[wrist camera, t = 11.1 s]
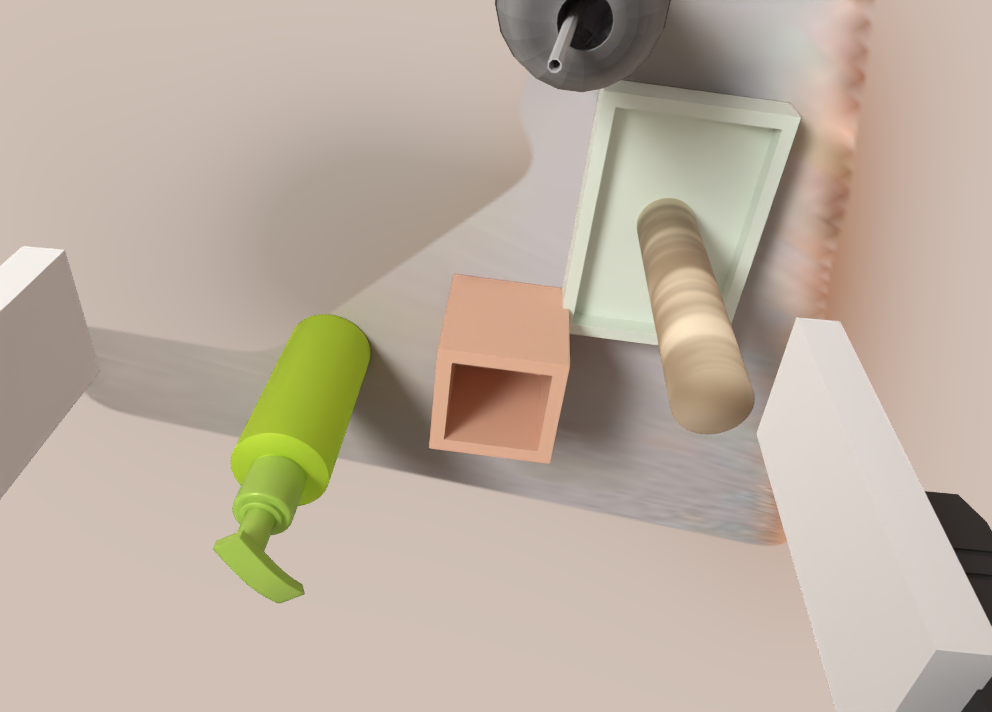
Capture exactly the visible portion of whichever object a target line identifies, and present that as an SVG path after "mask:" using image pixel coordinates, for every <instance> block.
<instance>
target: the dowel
mask: <svg viewBox="0 0 992 712" xmlns="http://www.w3.org/2000/svg"><path fill="white" fill-rule="evenodd" d="M637 234H638V239H639V245H640V250H641V255H642V261H643V266H644V271H645V276H646V282H647V287H648V292H649V297H650V303H651V308H652V313H653V319H654V324H655V329H656V334H657V340H658V345H659V350H660V356H661V361H662V366H663V371H664V377H665V382H666V387H667V392H668V398H669V403H670V408H671V412H672V415H673V417H674V419H675V420H676V421H677V422H678V423H679V424H680V425H681V426H682V427H684V428H685V429H687V430H689V431H692V432H695V433H700V434H717V433H722V432H725V431H728V430H730V429H733V428H734V427H736V426H738V425H739V424H741V423H742V422H743V421H744V420H745V419H746V418H747V417H748V415H749V414H750V412H751V410H752V408H753V405H754V391H753V388H752V385H751V382H750V379H749V376H748V373H747V370H746V367H745V365H744V362H743V359H742V356H741V353H740V350H739V347H738V344H737V341H736V338H735V335H734V332H733V329H732V326H731V323H730V320H729V317H728V314H727V311H726V308H725V305H724V302H723V299H722V296H721V293H720V290H719V287H718V284H717V281H716V278H715V275H714V272H713V269H712V266H711V263H710V261H709V258H708V255H707V252H706V249H705V246H704V243H703V240H702V237H701V234H700V231H699V228H698V225H697V222H696V219H695V216H694V213H693V211H692V209H691V208H690V207H689V206H688V205H687V204H686V203H684V202H683V201H681V200H678V199H674V198H663V199H659V200H656V201H653V202H652V203H650V204H649V205H647V206H646V207H645V208H644V209H643V210H642V212H641V213H640V215H639V217H638V220H637Z"/></svg>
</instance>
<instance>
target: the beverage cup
mask: <svg viewBox="0 0 992 712" xmlns="http://www.w3.org/2000/svg"><path fill="white" fill-rule="evenodd" d="M669 5H670V0H495V6H496V11H497V16H498V21H499V26H500V32H501V34H502V36H503V38H504V39H505V41H506V43H507V45H508V47H509V49H510V51H511V53H512V54H513V56H514V57H515V58H516V59H517V60H518V61H519V62H520V63H521V64H522V65H523V66H524V67H525V68H526V69H527V70H528V71H529V72H530V73H531V74H532V75H533V76H534V77H535V78H536V79H539V80H541V81H543V82H545V83H547V84H549V85H551V86H553V87H555V88H557V89H562V90H570V91H578V92H585V91H591V90H596V89H602V88H607V87H609V86H610V85H612V84H614V83H616V82H618V81H620V80H622V79H624V78H626V77H627V76H629V75H630V74H631V73H632V72H633V71H634V70H635V69H636V68H637V67H638V66H639V65H640V64H641V63H642V62H643V61H644V60H645V59H646V58H647V57H648V56H649V54H650V53H651V51H652V49H653V47H654V45H655V44H656V42H657V40H658V38H659V36H660V34H661V33H662V31H663V29H664V27H665V23H666V18H667V14H668V9H669Z"/></svg>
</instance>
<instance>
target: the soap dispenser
mask: <svg viewBox="0 0 992 712" xmlns="http://www.w3.org/2000/svg"><path fill="white" fill-rule="evenodd" d="M370 356H371V350H370V345H369V342H368V340H367V338H366V336H365V335H364V333H363V332H362V331H361V330H360V329H359V328H358V327H357V326H356V325H354V324H353V323H352V322H350V321H348V320H346V319H344V318H341V317H338V316H335V315H327V314H321V315H314V316H311V317H308V318H306V319H304V320H303V321H301V322H300V323H299V324H298V325H297V326H296V327H295V329H294V330H293V332H292V334H291V336H290V338H289V340H288V342H287V344H286V346H285V348H284V350H283V352H282V354H281V356H280V358H279V360H278V362H277V364H276V366H275V368H274V370H273V372H272V374H271V376H270V378H269V380H268V382H267V384H266V386H265V388H264V390H263V392H262V394H261V396H260V398H259V400H258V402H257V404H256V406H255V408H254V410H253V412H252V414H251V416H250V418H249V420H248V422H247V424H246V426H245V428H244V430H243V432H242V434H241V436H240V438H239V440H238V443H237V445H236V446H235V448H234V451H233V453H232V456H231V469H232V472H233V474H234V477H235V478H236V480H237V481H238V483H239V484H240V485H241V487H240V490H239V492H238V494H237V496H236V498H235V500H234V503H233V508H232V509H233V515H234V517H235V519H236V520H237V521H238V523H240V527H239V530H238V532H237V533H235V534H232V535H230V536H227V537H225V538H222V539H220V540H217V541H216V543H215V545H214V548H213V550H214V551H215V552H216V553H217V554H218V555H219V556H220V557H221V559H222V560H223V561H224V562H225V563H226V564H227V565H228V566H229V567H230V568H231V569H232V570H233V571H234V572H235V573H236V574H237V575H238V576H239V577H240V578H241V579H242V580H243V581H244V582H245V583H246V584H247V585H249V586H250V587H251V588H253V589H254V590H255V591H257V592H258V593H260V594H261V595H263V596H265V597H266V598H268V599H270V600H272V601H274V602H276V603H282V602H285V601H288V600H291V599H293V598H296V597H299V596H301V595H304V589H303V586H302V584H301V583H299V582H298V581H296V580H294V579H293V578H291V577H290V576H289V575H288V574H286V573H285V572H284V571H283V570H282V569H281V568H279V567H278V566H277V565H276V564H275V563H274V562H273V561H272V560H271V558H269V556H268V555H267V554H266V553H265V552H264V550H265V548H266V545H267V542H268V540H269V537H270V535H275V534H279V533H281V532H283V531H285V530H286V529H287V528H288V527H289V526H290V525H291V523H292V520H293V517H294V515H295V512H296V509H297V507H298V506H301V505H305V504H308V503H310V502H313V501H315V500H316V499H318V498H319V497H320V496H321V495H322V494H323V493H324V492H325V490H326V488H327V486H328V483H329V480H330V477H331V474H332V471H333V468H334V465H335V462H336V460H337V457H338V454H339V451H340V448H341V445H342V442H343V439H344V436H345V433H346V430H347V427H348V424H349V421H350V418H351V415H352V412H353V409H354V406H355V403H356V400H357V397H358V394H359V391H360V388H361V385H362V382H363V379H364V376H365V373H366V370H367V367H368V364H369V361H370Z"/></svg>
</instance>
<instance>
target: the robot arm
mask: <svg viewBox="0 0 992 712" xmlns="http://www.w3.org/2000/svg"><path fill="white" fill-rule="evenodd" d="M99 372H100V369H99V366H98V362H97V359H96V355H95V352H94V348H93V345H92V342H91V338H90V335H89V331H88V328H87V324H86V321H85V318H84V314H83V311H82V308H81V304H80V300H79V297H78V293H77V290H76V287H75V283H74V280H73V276H72V273H71V270H70V266H69V262H68V259H67V256H66V252H65V250H60V249H49V248H37V247H27V246H23V247H21V248H20V249H19V250H18V251H17V252H16V253H15V254H13V255H12V256H11V257H10V258H9V259H8V260H6V261H5V262H4V263H3V264H2V265H1V266H0V499H1V498H2V496H3V495H4V494H5V493H6V491H7V490H8V488H9V487H10V486H11V485H12V484H13V482H14V481H15V480H16V478H17V477H18V476H19V475H20V473H21V472H22V471H23V469H24V468H25V467H26V466H27V464H28V463H29V462H30V461H31V459H32V458H33V457H34V455H35V454H36V453H37V452H38V450H39V449H40V448H41V446H42V445H43V444H44V442H45V441H46V440H47V439H48V437H49V436H50V435H51V433H52V432H53V431H54V430H55V428H56V427H57V426H58V425H59V423H60V422H61V421H62V419H63V418H64V417H65V416H66V414H67V413H68V412H69V411H70V409H71V408H72V407H73V405H74V404H75V403H76V402H77V400H78V399H79V398H80V396H81V395H82V394H83V393H84V391H85V390H86V389H87V387H88V386H89V385H90V384H91V382H92V381H93V380H94V378H95V377H96V376H97V375H98V373H99ZM757 437H758V441H759V444H760V448H761V451H762V455H763V458H764V462H765V465H766V469H767V472H768V476H769V479H770V483H771V486H772V490H773V493H774V497H775V500H776V504H777V507H778V511H779V514H780V518H781V521H782V525H783V528H784V532H785V535H786V539H787V542H788V546H789V549H790V553H791V556H792V560H793V563H794V567H795V570H796V574H797V577H798V581H799V584H800V588H801V591H802V595H803V598H804V601H805V605H806V609H807V612H808V616H809V619H810V623H811V626H812V630H813V633H814V637H815V640H816V644H817V647H818V651H819V654H820V658H821V661H822V665H823V668H824V672H825V675H826V678H827V682H828V686H829V689H830V693H831V696H832V699H833V703H834V707H835V710H836V712H992V531H991V529H990V527H989V525H988V524H987V522H986V521H985V520H984V519H983V518H982V517H981V516H980V515H979V514H978V513H977V512H976V511H974V510H973V509H972V508H971V507H970V506H969V505H968V504H967V503H966V502H965V501H964V500H963V499H962V498H961V497H960V496H959V495H957V494H948V493H937V492H927V491H924V489H923V488H922V486H921V483H920V481H919V479H918V477H917V475H916V474H915V471H914V469H913V468H912V465H911V463H910V461H909V459H908V457H907V455H906V453H905V451H904V449H903V447H902V445H901V443H900V441H899V439H898V437H897V435H896V433H895V431H894V430H893V427H892V425H891V423H890V421H889V419H888V417H887V415H886V413H885V411H884V409H883V407H882V405H881V403H880V401H879V399H878V397H877V395H876V393H875V391H874V389H873V387H872V385H871V383H870V381H869V379H868V377H867V375H866V373H865V371H864V369H863V367H862V365H861V363H860V361H859V359H858V357H857V355H856V353H855V351H854V349H853V347H852V345H851V343H850V341H849V339H848V337H847V334H846V333H845V330H844V329H843V327H842V325H841V322H840V321H830V320H819V319H809V318H798V317H796V320H795V323H794V326H793V329H792V332H791V335H790V338H789V341H788V343H787V346H786V349H785V352H784V355H783V358H782V361H781V364H780V367H779V370H778V373H777V375H776V378H775V381H774V384H773V387H772V390H771V393H770V396H769V399H768V402H767V405H766V407H765V410H764V413H763V416H762V419H761V422H760V425H759V428H758V431H757Z"/></svg>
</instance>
